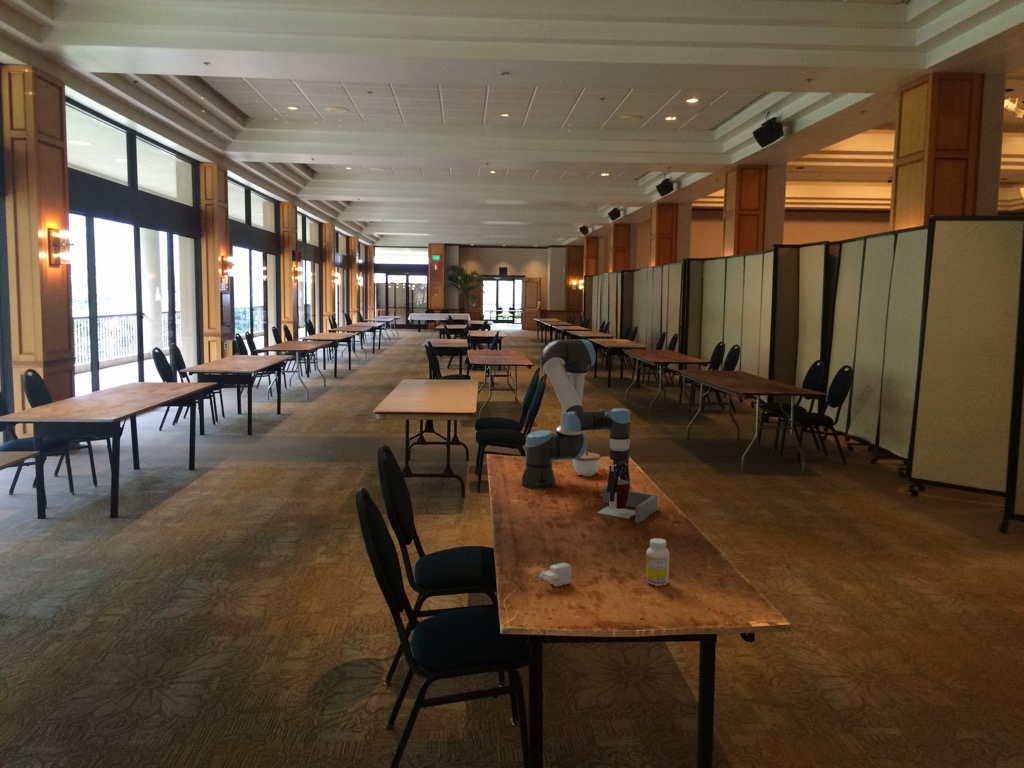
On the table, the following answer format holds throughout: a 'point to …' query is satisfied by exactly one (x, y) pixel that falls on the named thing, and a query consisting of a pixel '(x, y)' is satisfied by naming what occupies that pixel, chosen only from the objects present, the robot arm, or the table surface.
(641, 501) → the corner arena
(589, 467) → the white lidded pot
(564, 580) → the power adapter
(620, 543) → the table surface
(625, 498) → the mug
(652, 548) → the supplement bottle
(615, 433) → the robot arm
